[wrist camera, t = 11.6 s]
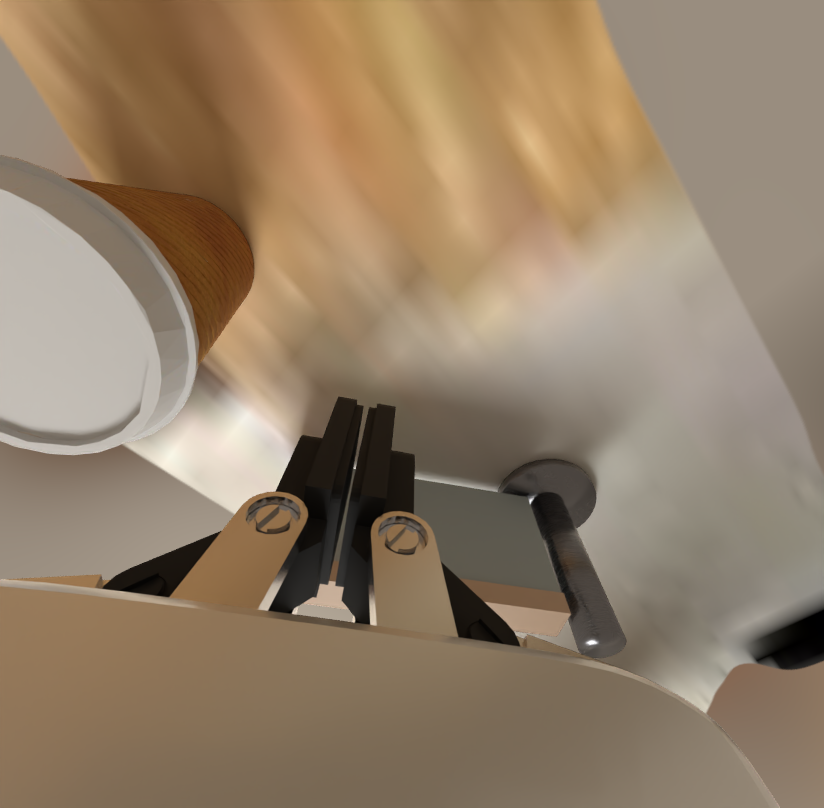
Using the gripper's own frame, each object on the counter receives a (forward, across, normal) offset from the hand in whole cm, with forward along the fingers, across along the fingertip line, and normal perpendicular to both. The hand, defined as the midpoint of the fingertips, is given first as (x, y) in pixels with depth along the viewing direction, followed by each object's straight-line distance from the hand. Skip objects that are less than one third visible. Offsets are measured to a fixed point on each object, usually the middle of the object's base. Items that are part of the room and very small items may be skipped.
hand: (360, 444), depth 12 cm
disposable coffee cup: (+14, +11, -1) cm, 17 cm away
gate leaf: (+13, -4, +11) cm, 17 cm away
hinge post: (+14, -14, +11) cm, 23 cm away
